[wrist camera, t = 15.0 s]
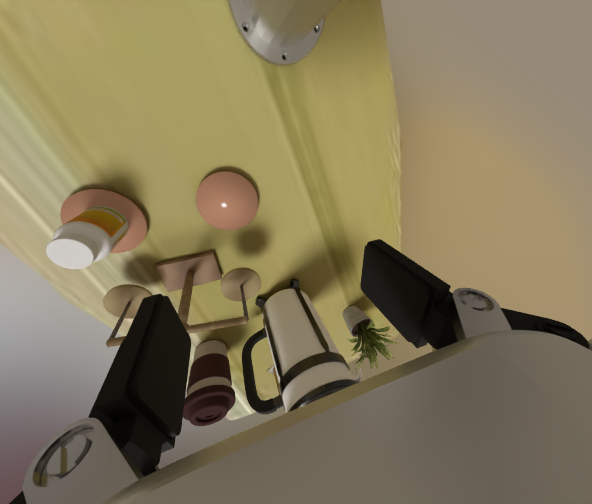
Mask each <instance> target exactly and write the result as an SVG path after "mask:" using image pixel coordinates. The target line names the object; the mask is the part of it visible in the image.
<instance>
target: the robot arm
mask: <svg viewBox="0 0 592 504" xmlns="http://www.w3.org/2000/svg"><path fill="white" fill-rule="evenodd" d="M228 1H229V6H230V9H231V13H232V16H233V19H234V22H235V24H236V26H237V28H238V31H239V32H240V34H241V36H242V37H243V39H244V41H245V42H246V43H247V45H248V46H249V47H250V48H251V49H252V50H253V52H255V53H256V54H257V55H258V56H259V57H261V58H262V59H264V60H266V61H267V62H269V63H272V64H276V65H290V64H294V63H296V62H298V61H300V60H301V59H303V58H304V57H305V56H306V55H307V54H308V53H309V52H310V51H311V50H312V49H313V47H314V46H315V44H316V43H317V41H318V39H319V37H320V34H321V32H322V29H323V25H324V21H325V16H326V15H327V14H328V13H329V12H330V11H331V10H332V9H333V8H334V7H335V6H336V5H337V4H338V3H339V2H340V1H341V0H228ZM244 27H245V28H247V32H245V31H244V29H243V28H244ZM314 29H315V30H316V33H315V31H314ZM282 56H284V57H285V60H283V59H282ZM361 289H362V291H363V293H364V294H365V295H366V296H367V297H368V298H369V299H370V300H371V301H372V302H373V304H374V305H375V306H376V307H377V308H378V309H379V310H380V311H381V312H382V314H383V315H384V316H385V317H386V318H387V319H388V320H389V321H390V322H391V324H392V325H393V326H394V327H395V328H396V329H397V330H398V331H399V332H400V333H401V335H402V336H403V337H404V338H405V339H406V340H407V341H408V342H412V343H413V344H414V345H415V347H416V348H419V347H421V346H424V345H426V344H427V343H429V344H430V345H431V346H432V352H431V353H428V354H426V355H424V356H422V357H419V358H416V359H414V360H412V361H409V362H407V363H404V364H402V365H400V366H397V367H395V368H393V369H390V370H388V371H385V372H383V373H381V374H378V375H376V376H373V377H371V378H368V379H366V380H364V381H361V382H359V383H357V384H354V385H352V386H349V387H347V388H345V389H342V390H340V391H338V392H335V393H333V394H330V395H328V396H326V397H323V398H321V399H319V400H316V401H314V402H311V403H309V404H307V405H304V406H302V407H300V408H297V409H295V410H293V411H290V412H288V413H286V414H284V415H281V416H279V417H276V418H274V419H272V420H269V421H267V422H265V423H262V424H260V425H258V426H255V427H253V428H251V429H248V430H246V431H244V432H241V433H239V434H237V435H234V436H232V437H230V438H227V439H225V440H223V441H221V442H218V443H216V444H214V445H212V446H209V447H207V448H205V449H203V450H200V451H198V452H196V453H194V454H191V455H189V456H187V457H185V458H183V459H180V460H178V461H176V462H174V463H171V464H170V465H167V466H166V467H164V468H162V469H159V468H158V466H157V465H158V464H159V461H160V456H161V453H162V452H165V451H167V450H170V449H172V448H174V445H175V437H176V436H177V435H179V434H180V432H181V426H182V418H183V410H184V401H185V393H186V384H187V376H188V367H189V359H190V350H191V339H190V336H189V334H188V332H187V331H186V329H185V327H184V325H183V323H182V321H181V320H180V318H179V316H178V314H177V312H176V310H175V309H174V307H173V305H172V303H171V301H170V299H169V298H168V296H163V295H162V294H157V295H153V296H149V297H145V298H143V300H142V302H141V304H140V306H139V309H138V311H137V313H136V316H135V318H134V320H133V322H132V325H131V327H130V329H129V332H128V334H127V336H126V338H124V340H123V341H122V343H121V345H120V348H119V350H118V352H117V354H116V356H115V359H114V361H113V363H112V365H111V368H110V370H109V372H108V374H107V377H106V379H105V381H104V383H103V386H102V388H101V390H100V392H99V395H98V397H97V399H96V401H95V403H94V406H93V408H92V410H91V412H90V415H89V417H88V418H85V419H81V420H78V421H76V422H74V423H73V424H71V425H69V426H67V427H66V428H64V429H63V430H62V431H60V432H59V433H58V434H56V435H55V436H54V437H53V438H52V439H51V440H50V441H49V442H48V443H47V444H46V445H45V446H44V447H43V448H42V449H41V451H40V452H39V453H38V454H37V455H36V457H35V458H34V460H33V462H32V463H31V465H30V467H29V468H28V469H27V472H26V475H25V478H24V480H23V491H22V492H21V493H20V494H19V495H18V496H17V497H16V498H15V499H14V500H13V501H12V502H11V503H9V504H592V339H590V340H589V341H587V340H586V339H585V338H584V337H583V335H581V334H580V333H578V332H577V331H576V330H574V329H573V328H571V327H570V326H568V325H566V324H564V323H561V322H558V321H555V320H552V319H548V318H544V317H539V316H535V315H530V314H526V313H521V312H517V311H513V310H508V309H504V308H500V306H499V304H498V303H497V302H496V301H495V300H494V299H493V298H492V297H490V296H489V295H487V294H485V293H483V292H481V291H478V290H475V289H471V288H458V289H456V290H455V291H454V292H453V293H451V292H450V291H449V289H450V285H448V284H447V283H445V282H443V281H442V280H441V279H439V278H438V277H436V276H434V275H433V274H432V273H430V272H429V271H427V270H426V269H424V268H422V267H421V266H420V265H418V264H417V263H415V262H414V261H412V260H411V259H409V258H408V257H406V256H405V255H403V254H402V253H400V252H399V251H397V250H396V249H394V248H393V247H391V246H390V245H388V244H387V243H385V242H384V241H382V240H380V239H378V240H374V241H370V242H368V243H367V245H366V246H365V250H364V259H363V268H362V276H361Z"/></svg>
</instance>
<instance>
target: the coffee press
mask: <svg viewBox="0 0 592 504" xmlns="http://www.w3.org/2000/svg"><path fill="white" fill-rule="evenodd" d="M255 304H256V305H257V306H258V307H260V308H261V310H262V316H263V325H264V328H263V329H262V330H260V331H258V332H257V333H255V334H254V335H253V336H251V337H250V338H249V339H248V340H247V342H246V343H245V345H244V348H243V351H242V366H243V375H244V384H245V391H246V396H247V400H248V402H249V404H250V406H251V407H252V408H253V409H254V410H255V411H256V412H258V413H260V414H269V413H273V412H275V411H276V409H278V408H280V407H281V406H283V405H284V406H285V410H286V413H288V412H290V411H293V410H295V409H297V408H300V407H302V406H304V405H307V404H309V403H311V402H314V401H316V400H319V399H321V398H323V397H326V396H328V395H330V394H333V393H335V392H338V391H340V390H342V389H345V388H347V387H349V386H352V385H354V384H357V383H359V382H361V369H360V368H359V369H357V370H355V371H350V369H349V367H348V365H347V363H346V361H345V359H344V358H343V356H342V355H340V353H339V351H338V349H337V348H336V346H335V344H334V342H333V340H332V339H331V337H330V335H329V333H328V331H327V329H326V328H325V326H324V324H323V322H322V320H321V319H320V317H319V315H318V313H317V311H316V310H315V308H314V306H313V304H312V302H311V301H310V299H309V297H308V296H307V295H306V294H305V293H304V292H303V291H301V290H300V289H299V280H297V279H292V280H291V287H290V289H285V290H281V291H279V292H277V293H275V294H274V295H272V296H271V297H270V298H269V299H268V300H267V301H266V300H264V299H263V298H261V297H258V298H257V300H256V302H255ZM265 337H268V341H269V345H270V349H271V353H272V358H273V362H274V366H275V370H276V374H277V378H278V382H279V392H280V395H279V396H277V397H275V398H271V399H269V400H266V401H263V400H260V398H259V397H258V395H257V391H256V385H255V379H254V372H253V366H252V359H251V351H252V348H253V346H254V345H255V344H256V343H257V342H258V341H260V340H261V339H263V338H265Z"/></svg>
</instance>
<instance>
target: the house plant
mask: <svg viewBox="0 0 592 504" xmlns="http://www.w3.org/2000/svg"><path fill="white" fill-rule="evenodd" d="M343 317H344V320H345V322H346V324H347V326H348V329H349V331H350V333H351V335H352V336H354V337H358V339H356V338H355V339H351V340H350V339H348V340H349V341H350V342H353V343H354V342H357V341H358V342H357V344H356V345H355V347H354V348H353V349H352V350H355V352H354V354H355V353H356V352H361V351H362V354H360V356H361V358H360V359H359V360H358V361H357V362H356V363H358V362H359V361H361V362H360V364H359V365H358V366H357V368H358V367H359V366H360V365H361V364H362V362H363V360H364V357H365V354H366V353H367V351H368V356H369V360H370V363H371V369H372V367H373V363H374V362H375V365H376V366H377V359H376V352H375V348H376V349H377V350H378V351H379V352H380V353H381V354H383V355H384V356H385V357H386V358H387V359H389V358H388V357H387V355H388V356H390V357H392V358H393V356H392V354H391V353H390V352H389V351H388V349H387V348H386V347H385V346H384V345H383V343H382V342H381V341H380V340H382V341H384V342H387V343H391V344H397V343H396V342H392V341H390V340H389V339H385V337H386V335H387V334H386V335H382V336H385V337H383V338H382V337H381V336H379V335H381V334H379V335H377V334H378V333H375V332H373V331H376V332H386V331H388V330H389V328H390V327H385V328H381V329H374V328H372V327H374V326H375V325H374V324H373V321H372V319H370V318H369V317H368V316H367V315H366V314H365V313H363V312H362V311H361V310H360V309H359V308H358V307H356V306H354V305H353V306H349V307H348V308H346V309H345V310H344V312H343ZM371 330H373V331H371ZM361 336H362V346H361V348H360V349H359V350H358V348H359V346H360V343H361ZM388 337H390V336H388ZM364 346H365V349H364ZM374 346H375V348H374ZM357 350H358V351H357ZM354 354H353V355H354ZM361 359H362V360H361ZM357 368H356V369H357ZM356 369H355V370H356Z"/></svg>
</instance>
